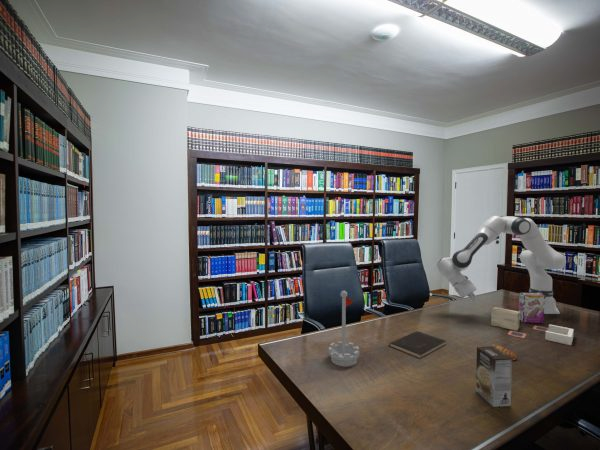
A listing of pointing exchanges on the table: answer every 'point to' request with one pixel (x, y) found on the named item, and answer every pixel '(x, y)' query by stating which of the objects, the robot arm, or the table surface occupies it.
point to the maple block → (505, 318)
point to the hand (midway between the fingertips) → (476, 300)
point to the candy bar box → (531, 307)
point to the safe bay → (559, 334)
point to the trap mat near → (517, 334)
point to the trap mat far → (541, 328)
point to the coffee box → (494, 376)
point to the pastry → (506, 351)
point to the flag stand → (344, 342)
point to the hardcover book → (417, 344)
